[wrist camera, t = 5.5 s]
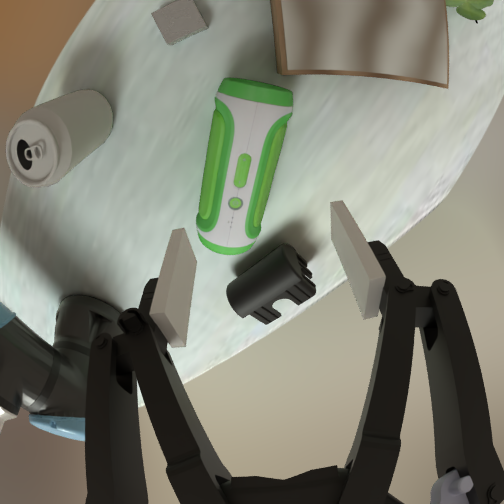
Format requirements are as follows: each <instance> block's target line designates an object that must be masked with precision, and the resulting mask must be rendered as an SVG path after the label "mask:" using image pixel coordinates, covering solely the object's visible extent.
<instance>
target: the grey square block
mask: <svg viewBox="0 0 504 504" xmlns="http://www.w3.org/2000/svg"><path fill="white" fill-rule="evenodd" d="M151 14H152V16H153V18H154V20H155V22H156V24H157V26H158V28H159V29H160V31H161V33H162V35H163V37H164V39H165V41H166V43H167V44H168V45H174V44H176V43H178V42H180V41H182V40H184V39H186V38H188V37H190V36H192V35H194V34H197V33H199V32H201V31H203V30H206V29H208V27H207V25H206V23H205V21H204V19H203V17H202V16H201V14H200V12H199V10H198V8H197V6H196V4H195V2H194V0H177V1H175V2H173V3H171V4H169V5H167V6H165V7H163V8H161V9H159V10H157V11H155V12H153V13H151Z"/></svg>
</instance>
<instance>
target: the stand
mask: <svg viewBox="0 0 504 504" xmlns="http://www.w3.org/2000/svg"><path fill="white" fill-rule="evenodd" d="M270 4H271V13H272V22H273V32H274V42H275V52H276V63H277V73H278V74H281V75H299V74H327V75H352V76H366V77H377V78H387V79H395V80H403V81H409V82H416V83H422V84H427V85H433V86H438V87H442V88H447V89H448V84H449V39H448V22H447V10H446V1H445V0H270Z"/></svg>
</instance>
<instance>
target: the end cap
mask: <svg viewBox="0 0 504 504" xmlns="http://www.w3.org/2000/svg"><path fill="white" fill-rule="evenodd" d="M306 267H307V262H306V261H305V260H304V259H303V258H302V257H301V256H300V255H299V254H298V253H296V252H295V249H294V248H293V247H292V246H290V245H288V244H282V245H281V246H279V247H278V248H277V249H275V250H274V251H273V252H271V253H270V254H269V255H267V256H266V257H264V258H263V259H262V260H260V261H259V262H258V263H256V264H255V265H254V266H252V267H251V268H250V269H248V270H247V271H246V272H244V273H243V274H241V275H240V276H239V277H237V278H236V279H235V280H233V281H232V282H231V283H229V285H228V286H227V290H226V293H227V298H228V301H229V303H230V305H231V307H232V308H233V310H234V311H235V312H236V313H237V314H238V315H239V316H240V317H242V318H244V317H246V316H247V315H249V314H250V315H251V316H253V317H254V318H256V319H257V320H259V321H261V322H262V323H264V324H266V325H267V324H269V323H270V322H272V321H274V320H275V319H277V318H279V317H280V316H281V313H280V312H278V311H277V310H275V309H274V308H273V307H272V305H273V303H274V302H275V301H277V300H279V299H290V300H292V301H293V302H294V303H296V304H297V305H300V304H302V303H303V302H305V301H306V300H308V299H309V298H311V297H313V296H314V295H315V293H316V288H315V286H316V285H315V284H314V283H313V282H312V281H311V280H309V279H311V278H312V273H311V271H310V270H309V269H307V268H306ZM305 275H306V276H307V277H308V278H309V279H308V278H307V277H306V276H305Z"/></svg>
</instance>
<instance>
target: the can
mask: <svg viewBox="0 0 504 504" xmlns="http://www.w3.org/2000/svg"><path fill="white" fill-rule="evenodd" d="M112 126H113V113H112V110H111V106H110V104H109V103H108V101H107V100H106V98H105V97H104V96H103V95H101V94H100V93H99V92H97V91H94V90H90V89H86V90H79V91H76V92H73V93H70V94H67V95H64V96H61V97H58V98H56V99H53V100H51V101H48V102H45V103H43V104H40V105H38V106H36V107H33V108H31V109H29V110H28V111H26V112H24V113H23V114H22V115H21V116H20V117H19V119H18V120H17V121H16V123H15V125H14V127H13V128H12V129H11V131H10V132H9V135H8V138H7V141H6V158H7V162H8V165H9V168H10V170H11V172H12V173H13V175H14V176H15V177H16V179H17V180H19V181H20V182H21V183H22V184H24V185H26V186H29V187H41V186H50V185H53V184H55V183H58V182H59V181H60V180H61V179H62V178H63V177H64V176H65V175H66V174H67V173H68V172H70V171H71V170H72V169H73V168H74V167H75V166H76V165H77V164H79V163H80V162H81V161H82V160H83V159H85V158H86V157H87V156H88V155H89V154H91V153H92V152H93V151H94V150H95V149H97V148H98V147H99V146H100V145H102V144H103V143H104V142H105V141H106V139H107V138H108V136H109V135H110V132H111V129H112Z"/></svg>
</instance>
